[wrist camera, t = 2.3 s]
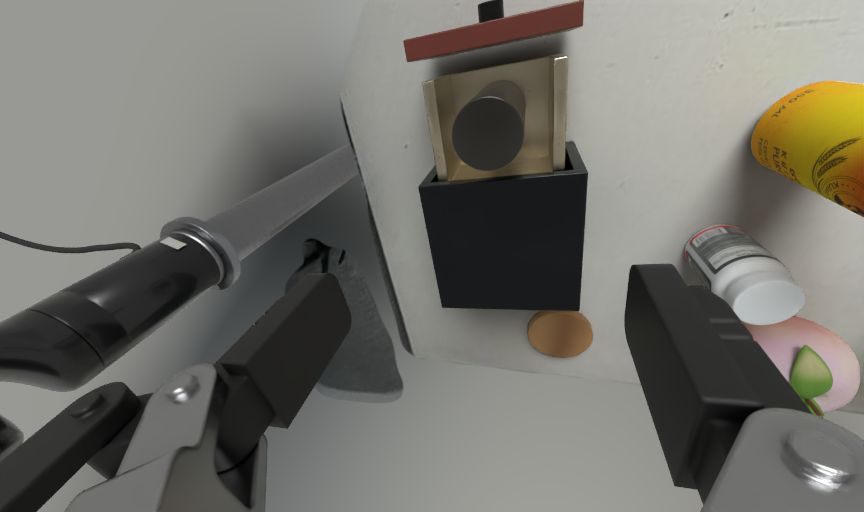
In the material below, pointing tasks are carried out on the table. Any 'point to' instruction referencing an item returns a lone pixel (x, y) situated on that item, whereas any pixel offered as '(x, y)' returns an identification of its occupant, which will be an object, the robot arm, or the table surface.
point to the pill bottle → (744, 275)
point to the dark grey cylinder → (491, 126)
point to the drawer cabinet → (509, 238)
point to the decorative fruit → (811, 362)
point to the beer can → (817, 140)
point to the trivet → (560, 333)
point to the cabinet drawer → (534, 77)
